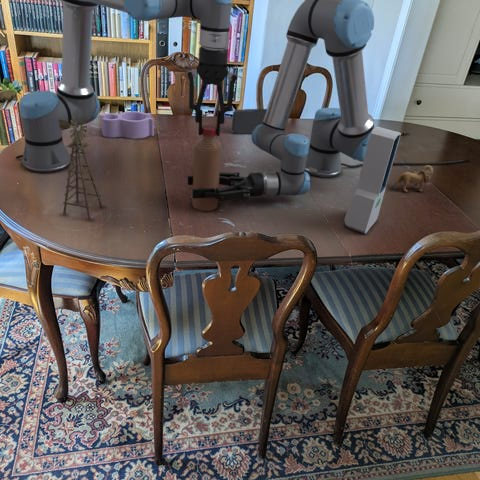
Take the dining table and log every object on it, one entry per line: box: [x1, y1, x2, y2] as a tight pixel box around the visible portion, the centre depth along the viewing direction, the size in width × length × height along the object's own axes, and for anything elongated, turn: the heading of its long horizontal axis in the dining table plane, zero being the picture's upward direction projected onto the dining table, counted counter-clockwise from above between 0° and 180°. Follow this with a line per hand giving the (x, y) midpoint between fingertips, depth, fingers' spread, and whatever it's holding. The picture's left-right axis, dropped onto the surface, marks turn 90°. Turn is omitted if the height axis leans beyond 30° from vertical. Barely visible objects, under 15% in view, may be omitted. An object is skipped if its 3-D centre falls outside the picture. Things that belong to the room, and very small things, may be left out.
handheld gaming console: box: [231, 108, 267, 135], centre depth 202 cm, size 23×3×10 cm, turn 108°
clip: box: [100, 110, 155, 140], centre depth 188 cm, size 20×12×7 cm, turn 109°
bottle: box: [191, 135, 223, 212], centre depth 139 cm, size 8×8×24 cm
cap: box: [201, 124, 217, 137], centre depth 133 cm, size 4×4×2 cm
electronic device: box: [343, 126, 402, 235], centre depth 137 cm, size 12×8×30 cm, turn 148°
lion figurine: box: [392, 165, 434, 193], centre depth 167 cm, size 15×5×9 cm, turn 110°
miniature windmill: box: [59, 109, 104, 220], centre depth 128 cm, size 9×8×30 cm
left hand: (208, 133), depth 133 cm, fingers closed on cap, 4 cm apart
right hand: (190, 187), depth 141 cm, fingers closed on bottle, 8 cm apart
